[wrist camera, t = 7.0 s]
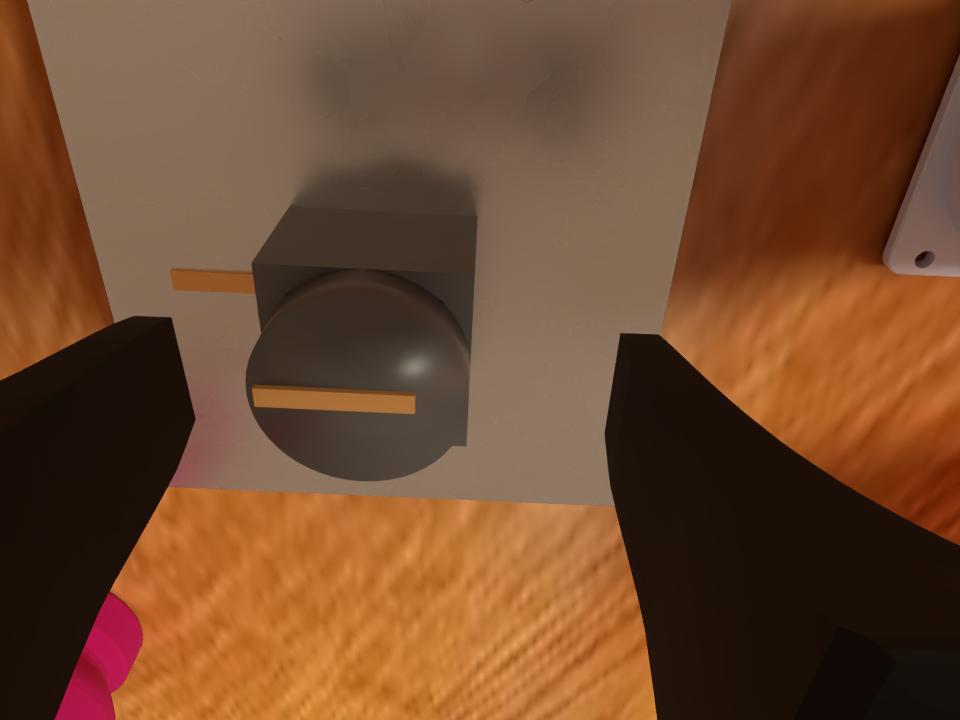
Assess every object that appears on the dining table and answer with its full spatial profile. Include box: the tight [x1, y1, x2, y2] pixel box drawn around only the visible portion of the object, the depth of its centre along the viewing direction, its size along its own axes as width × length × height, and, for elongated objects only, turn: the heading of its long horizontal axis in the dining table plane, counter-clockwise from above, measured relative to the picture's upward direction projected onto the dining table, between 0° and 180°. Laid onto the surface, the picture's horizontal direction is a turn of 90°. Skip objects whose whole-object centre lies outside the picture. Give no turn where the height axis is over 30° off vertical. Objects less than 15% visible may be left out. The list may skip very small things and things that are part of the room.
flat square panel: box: [27, 0, 732, 506], centre depth 19 cm, size 16×16×4 cm
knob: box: [245, 207, 478, 481], centre depth 18 cm, size 5×5×5 cm
